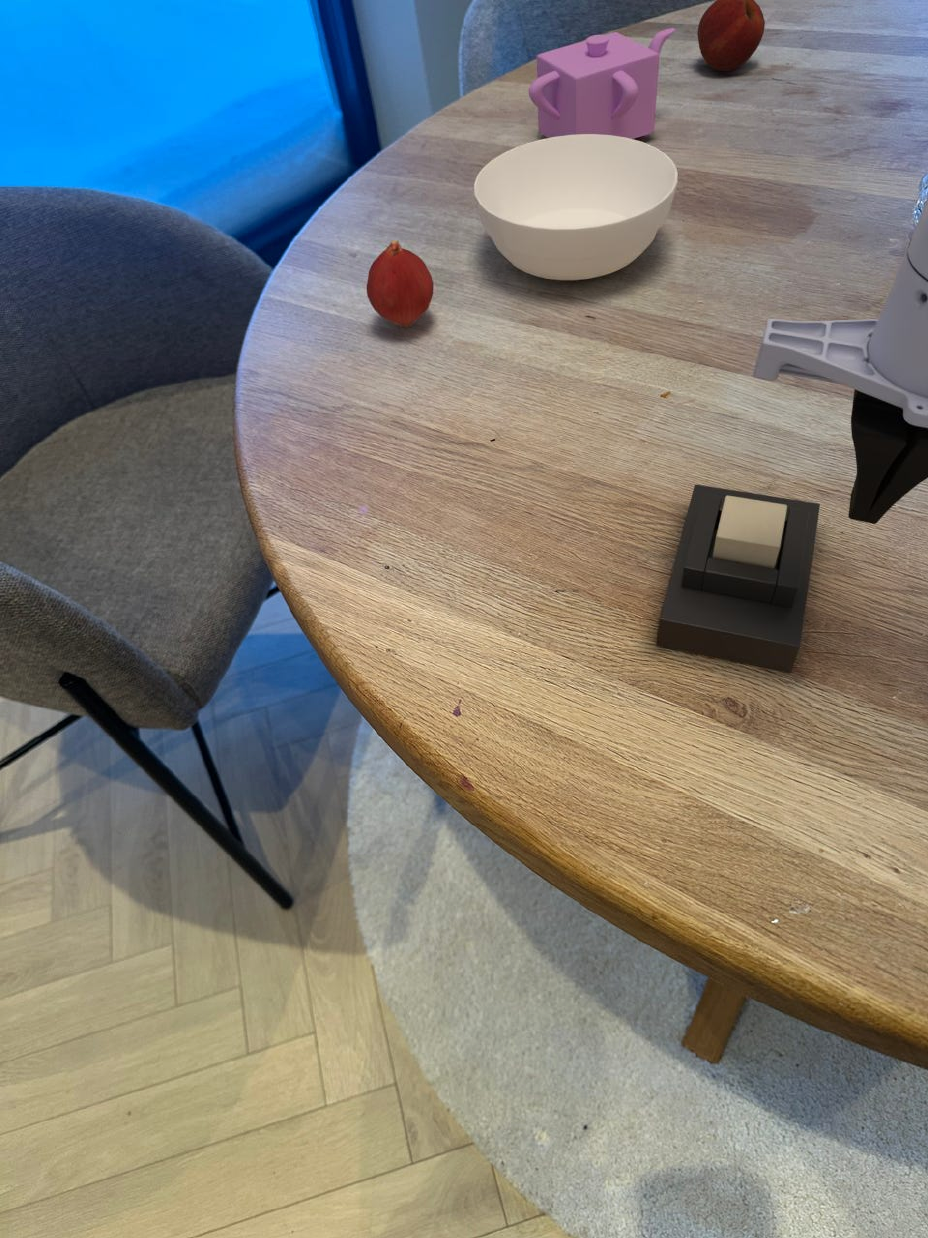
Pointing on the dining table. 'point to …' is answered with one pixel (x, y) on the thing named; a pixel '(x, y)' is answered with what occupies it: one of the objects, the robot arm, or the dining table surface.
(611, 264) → the bowl
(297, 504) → the dining table surface
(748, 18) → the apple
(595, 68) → the teapot
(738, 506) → the switch
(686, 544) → the switch plate
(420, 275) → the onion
